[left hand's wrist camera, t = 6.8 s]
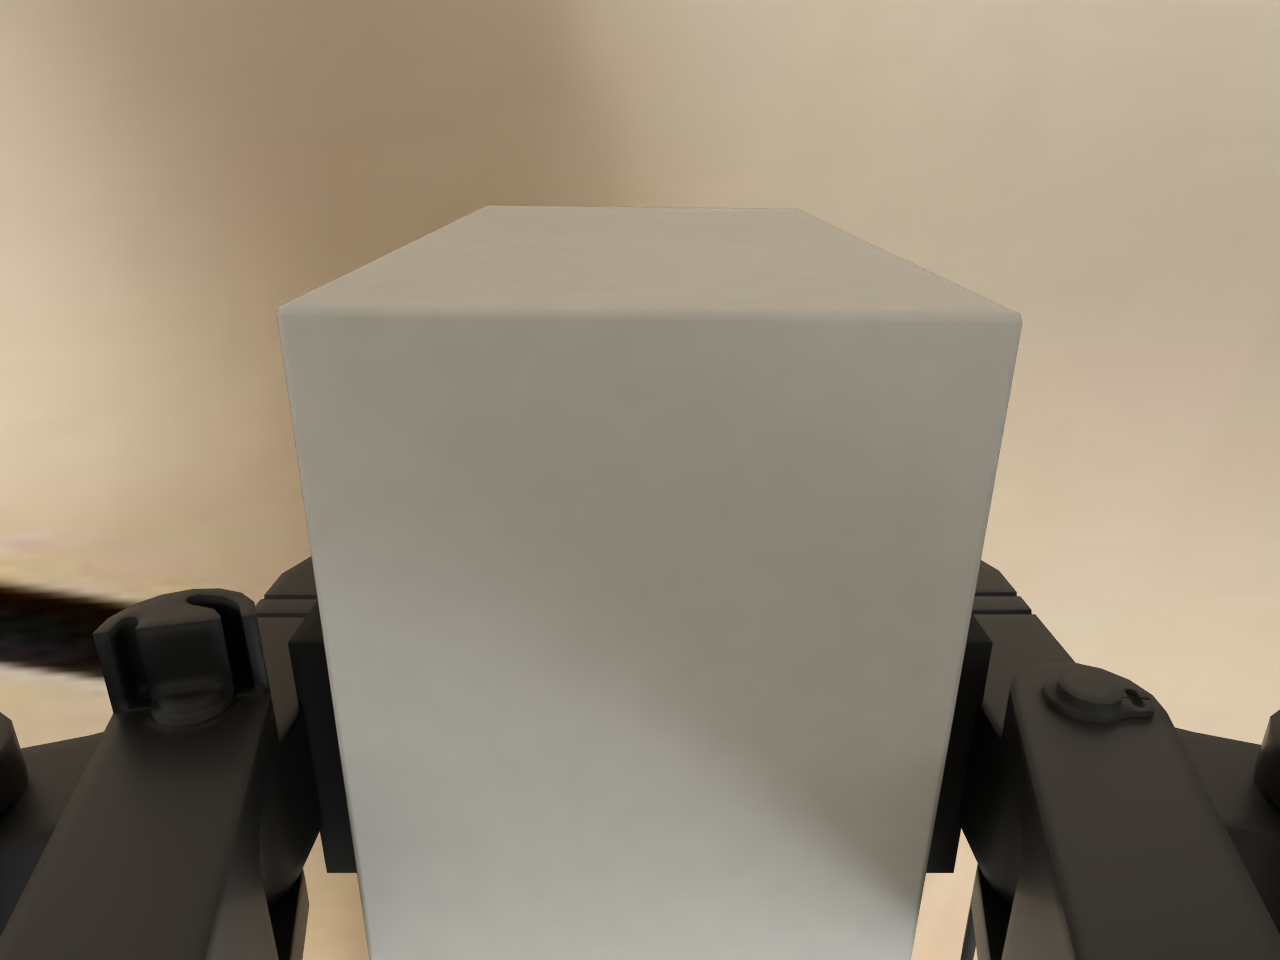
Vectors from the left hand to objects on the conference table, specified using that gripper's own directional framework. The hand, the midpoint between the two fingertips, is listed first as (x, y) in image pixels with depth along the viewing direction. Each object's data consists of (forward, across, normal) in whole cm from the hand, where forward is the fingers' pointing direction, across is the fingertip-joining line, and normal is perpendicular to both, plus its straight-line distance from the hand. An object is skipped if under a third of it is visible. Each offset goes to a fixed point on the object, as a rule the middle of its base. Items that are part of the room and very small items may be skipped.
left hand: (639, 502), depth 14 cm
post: (+1, 0, -24) cm, 24 cm away
